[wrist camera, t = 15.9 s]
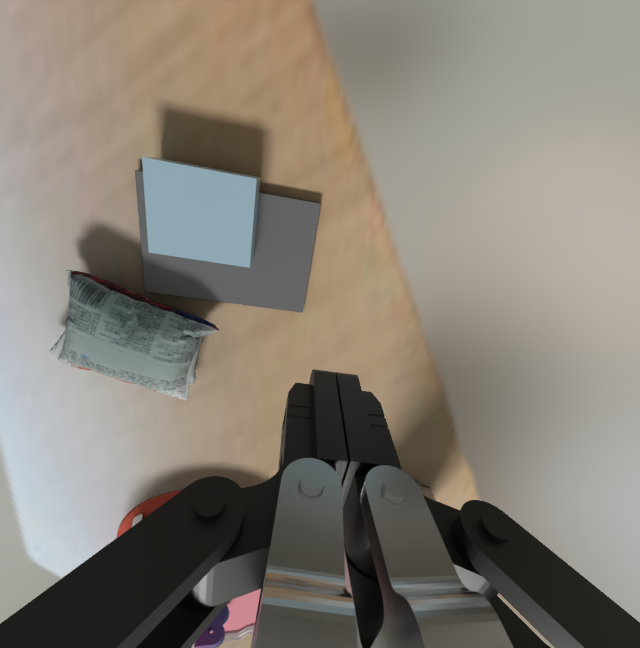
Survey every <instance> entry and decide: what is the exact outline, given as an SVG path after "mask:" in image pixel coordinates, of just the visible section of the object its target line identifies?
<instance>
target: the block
mask: <svg viewBox="0 0 640 648" xmlns="http://www.w3.org/2000/svg"><path fill="white" fill-rule="evenodd" d="M142 165H143V179H144V194H145V208H146V222H147V237H148V251H149V253H155V254H162V255H168V256H175V257H182V258H188V259H195V260H201V261H208V262H215V263H221V264H228V265H235V266H241V267H248V268H250V266H251V264H252V262H253V260H254V248H255V236H256V224H257V212H258V200H259V188H260V177H256V176H251V175H246V174H241V173H235V172H230V171H225V170H219V169H214V168H209V167H204V166H198V165H193V164H188V163H182V162H177V161H172V160H167V159H161V158H155V157H142Z"/></svg>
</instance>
